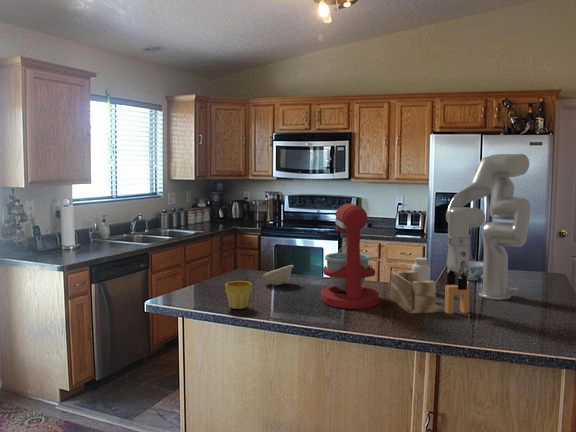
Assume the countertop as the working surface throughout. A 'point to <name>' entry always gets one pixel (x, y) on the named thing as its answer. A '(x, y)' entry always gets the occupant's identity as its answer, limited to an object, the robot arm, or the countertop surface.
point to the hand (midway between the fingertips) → (456, 286)
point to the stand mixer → (349, 264)
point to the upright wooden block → (449, 298)
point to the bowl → (279, 275)
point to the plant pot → (238, 293)
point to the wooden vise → (413, 292)
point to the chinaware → (475, 270)
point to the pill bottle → (422, 269)
